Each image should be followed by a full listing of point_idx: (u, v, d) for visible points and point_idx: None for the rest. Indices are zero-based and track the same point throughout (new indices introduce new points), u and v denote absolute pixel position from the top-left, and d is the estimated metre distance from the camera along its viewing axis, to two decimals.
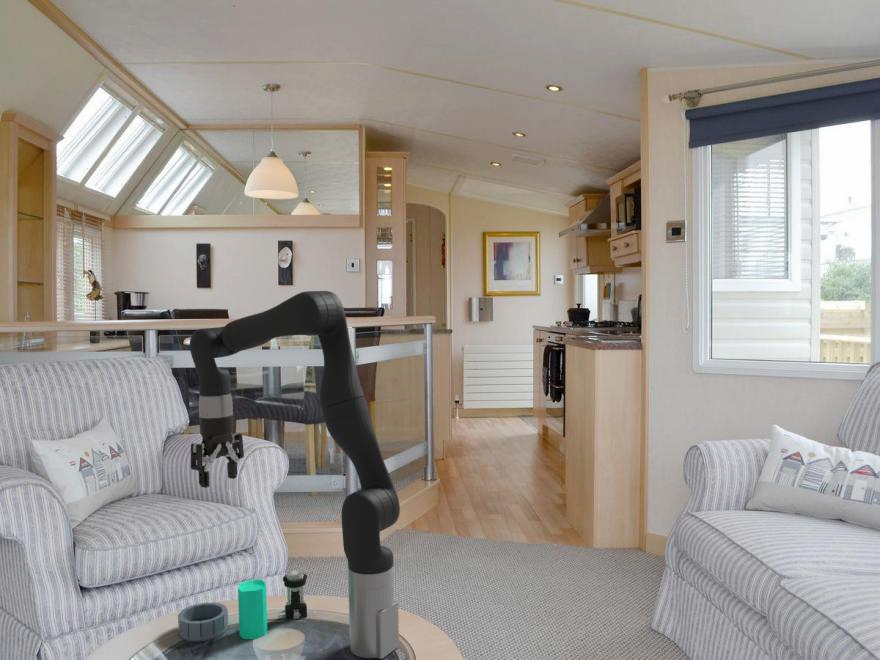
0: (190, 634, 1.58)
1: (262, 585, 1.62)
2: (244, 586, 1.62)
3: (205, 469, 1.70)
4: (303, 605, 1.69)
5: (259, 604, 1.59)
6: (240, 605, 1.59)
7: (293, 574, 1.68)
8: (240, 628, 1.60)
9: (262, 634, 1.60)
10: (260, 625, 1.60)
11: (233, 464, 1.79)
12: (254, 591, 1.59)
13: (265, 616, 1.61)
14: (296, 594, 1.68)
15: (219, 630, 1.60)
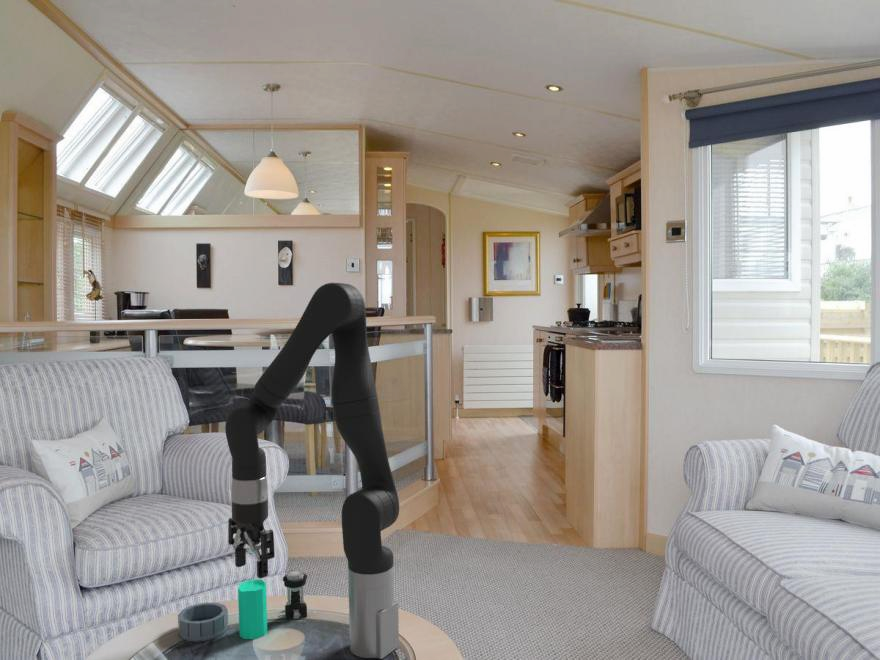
0: (190, 634, 1.58)
1: (262, 585, 1.62)
2: (244, 586, 1.62)
3: None
4: (303, 605, 1.69)
5: (259, 604, 1.59)
6: (240, 605, 1.59)
7: (293, 574, 1.68)
8: (240, 628, 1.60)
9: (262, 634, 1.60)
10: (260, 625, 1.60)
11: (244, 549, 1.64)
12: (254, 591, 1.59)
13: (265, 616, 1.61)
14: (296, 594, 1.68)
15: (219, 630, 1.60)
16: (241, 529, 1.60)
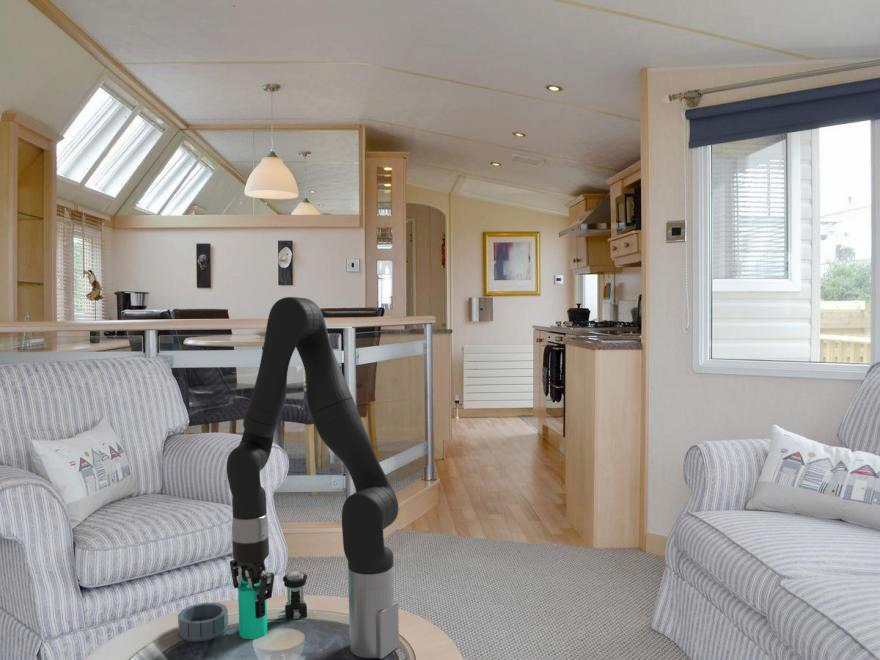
0: (190, 634, 1.58)
1: None
2: (244, 586, 1.62)
3: None
4: (303, 605, 1.69)
5: None
6: (240, 605, 1.59)
7: (293, 574, 1.68)
8: (240, 628, 1.60)
9: (262, 634, 1.60)
10: (260, 625, 1.60)
11: None
12: None
13: (265, 616, 1.61)
14: (296, 594, 1.68)
15: (219, 630, 1.60)
16: (242, 567, 1.60)
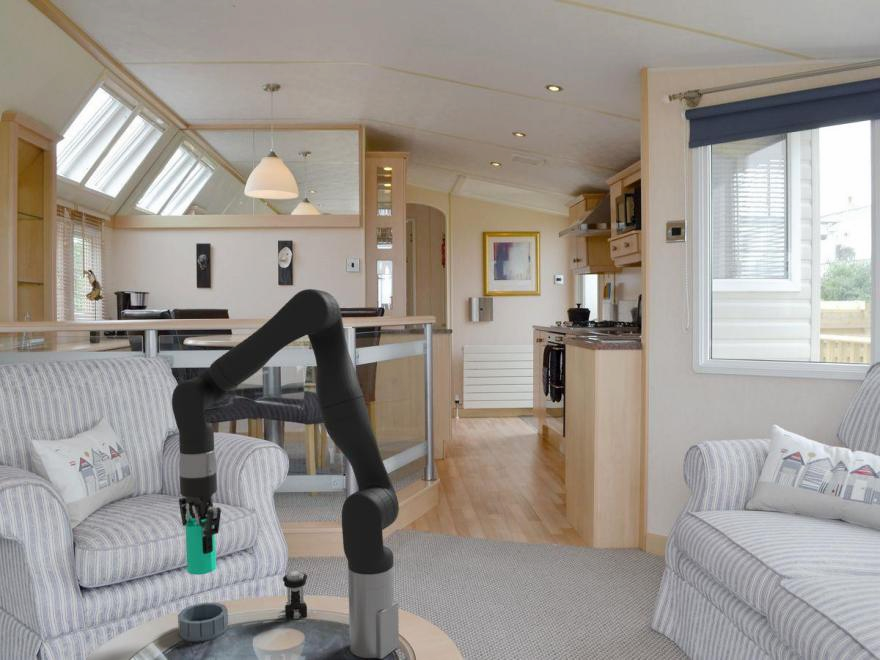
0: (190, 634, 1.58)
1: None
2: (192, 523, 1.62)
3: None
4: (303, 605, 1.69)
5: None
6: (187, 541, 1.60)
7: (293, 574, 1.68)
8: (188, 564, 1.60)
9: (210, 570, 1.60)
10: (208, 561, 1.60)
11: None
12: None
13: (213, 552, 1.61)
14: (296, 594, 1.68)
15: (219, 630, 1.60)
16: (189, 503, 1.61)
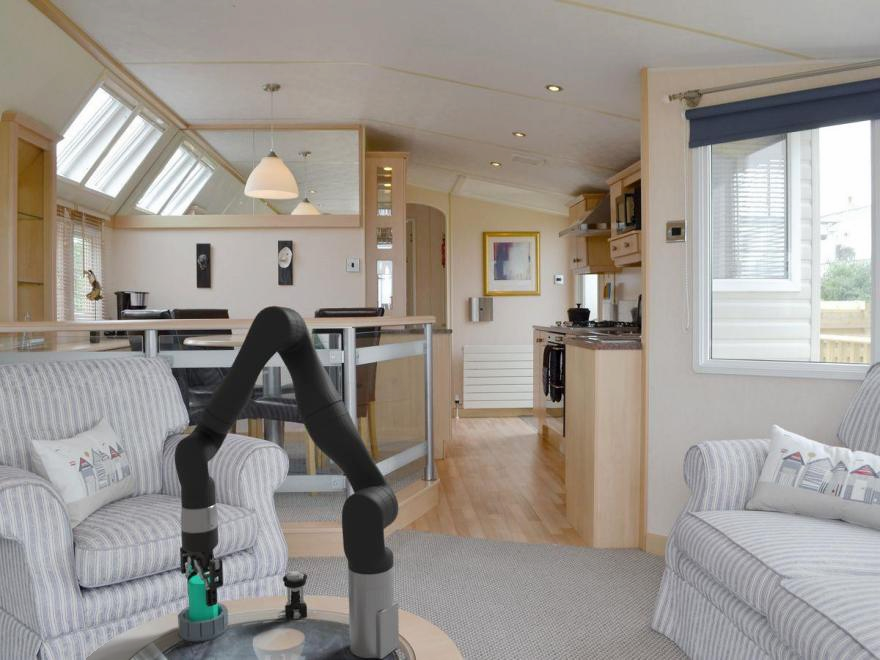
0: (190, 634, 1.58)
1: None
2: (194, 580, 1.63)
3: None
4: (303, 605, 1.69)
5: None
6: (190, 599, 1.60)
7: (293, 574, 1.68)
8: None
9: None
10: None
11: None
12: (204, 585, 1.60)
13: (215, 609, 1.62)
14: (296, 594, 1.68)
15: (219, 630, 1.60)
16: (191, 557, 1.61)
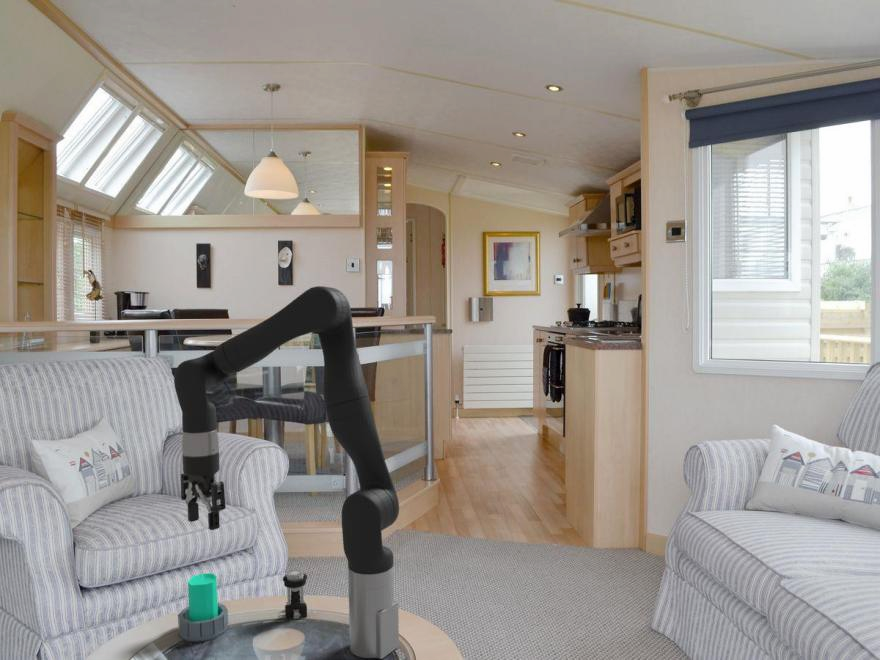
0: (190, 634, 1.58)
1: (213, 579, 1.63)
2: (195, 580, 1.63)
3: None
4: (303, 605, 1.69)
5: (209, 598, 1.60)
6: (190, 599, 1.60)
7: (293, 574, 1.68)
8: None
9: None
10: None
11: (197, 504, 1.66)
12: (204, 585, 1.60)
13: (215, 609, 1.62)
14: (296, 594, 1.68)
15: (219, 630, 1.60)
16: (192, 483, 1.62)
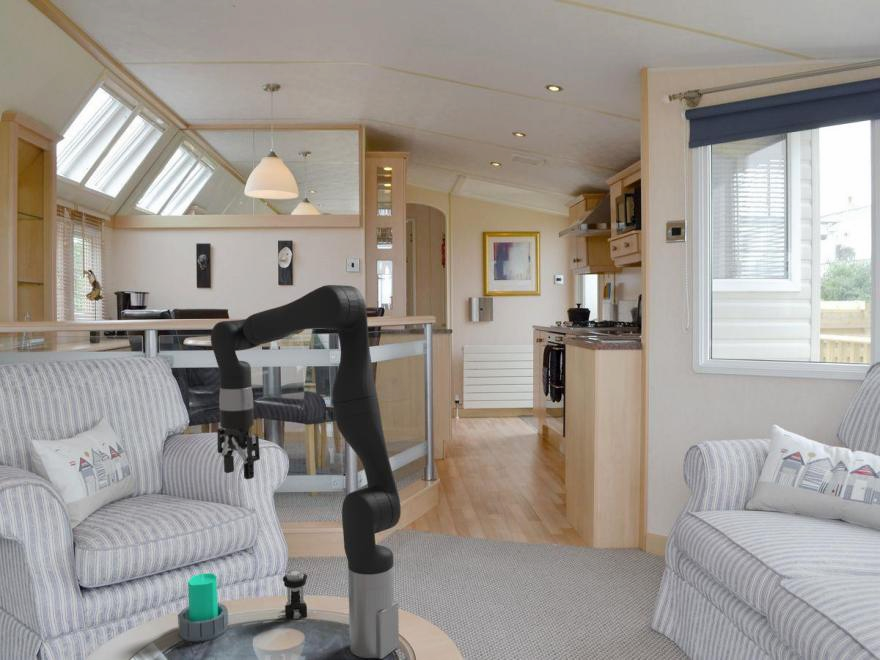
0: (190, 634, 1.58)
1: (213, 579, 1.63)
2: (195, 580, 1.63)
3: None
4: (303, 605, 1.69)
5: (209, 598, 1.60)
6: (190, 599, 1.60)
7: (293, 574, 1.68)
8: None
9: None
10: None
11: (232, 457, 1.79)
12: (204, 585, 1.60)
13: (215, 609, 1.62)
14: (296, 594, 1.68)
15: (219, 630, 1.60)
16: (229, 436, 1.74)
